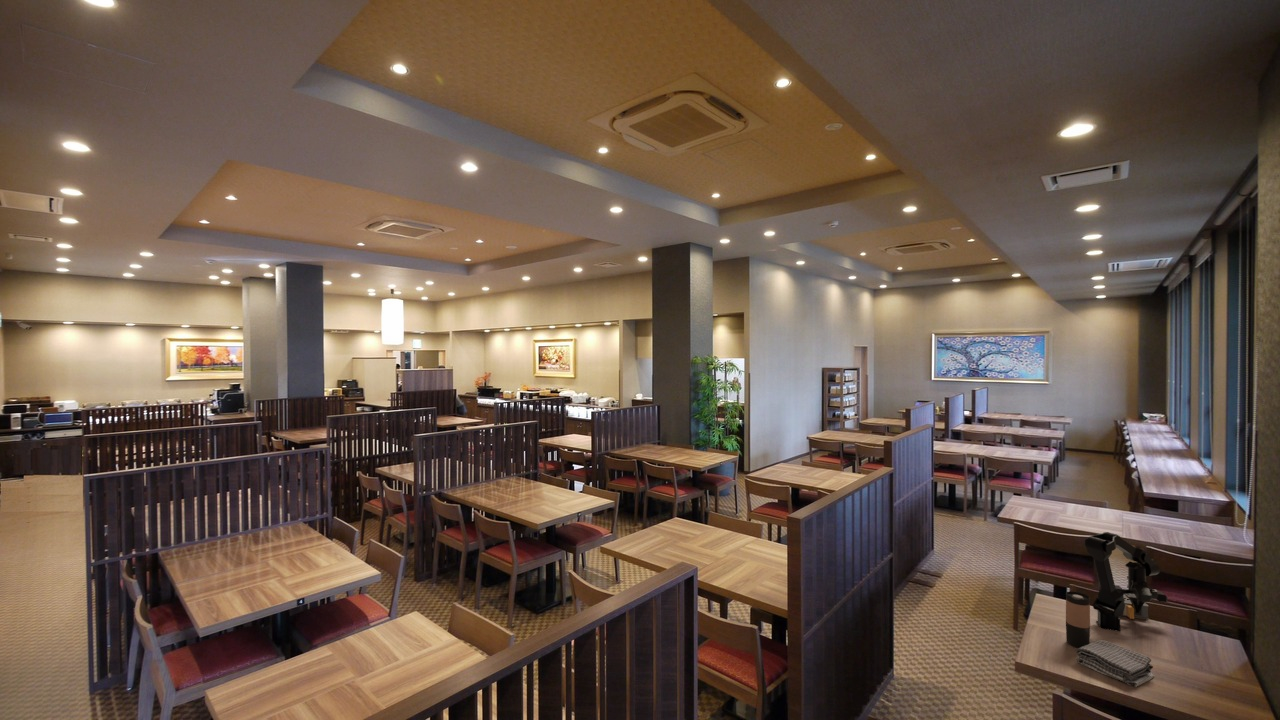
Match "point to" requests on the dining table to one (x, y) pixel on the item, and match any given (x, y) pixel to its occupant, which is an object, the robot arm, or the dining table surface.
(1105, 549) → the robot arm
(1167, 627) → the dining table surface
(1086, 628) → the travel mug
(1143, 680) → the towel
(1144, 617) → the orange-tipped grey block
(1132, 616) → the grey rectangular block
